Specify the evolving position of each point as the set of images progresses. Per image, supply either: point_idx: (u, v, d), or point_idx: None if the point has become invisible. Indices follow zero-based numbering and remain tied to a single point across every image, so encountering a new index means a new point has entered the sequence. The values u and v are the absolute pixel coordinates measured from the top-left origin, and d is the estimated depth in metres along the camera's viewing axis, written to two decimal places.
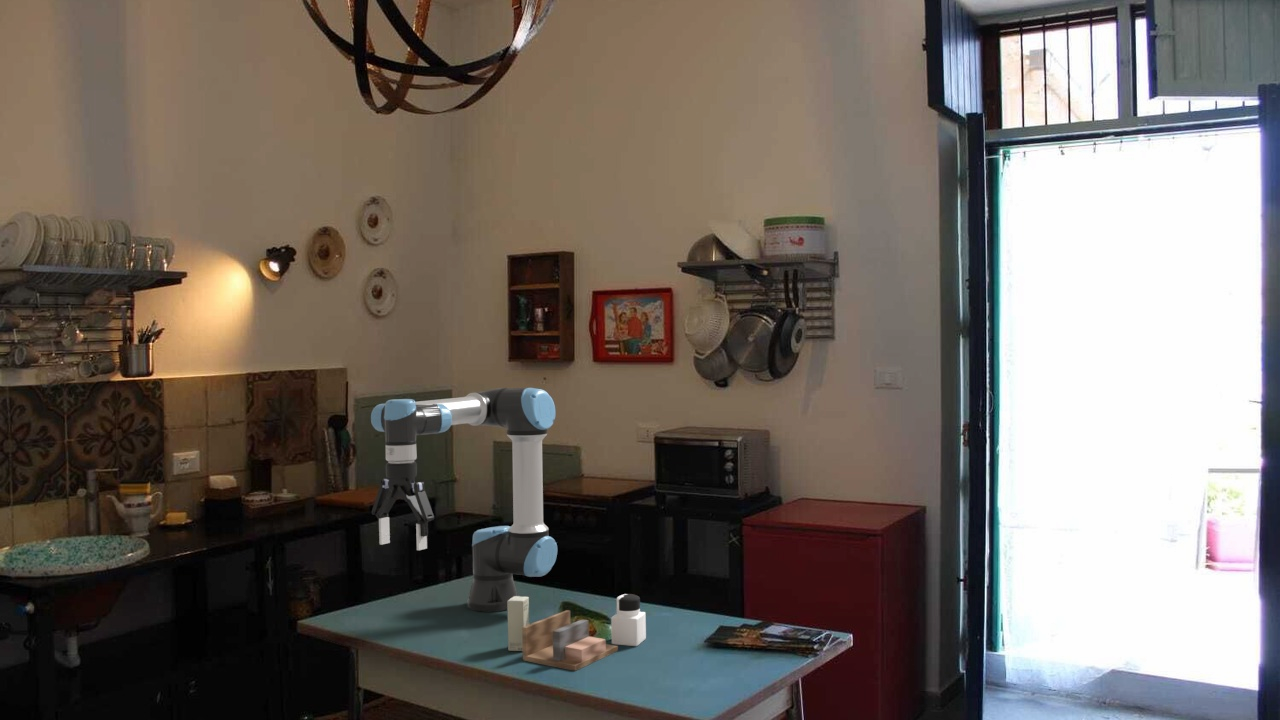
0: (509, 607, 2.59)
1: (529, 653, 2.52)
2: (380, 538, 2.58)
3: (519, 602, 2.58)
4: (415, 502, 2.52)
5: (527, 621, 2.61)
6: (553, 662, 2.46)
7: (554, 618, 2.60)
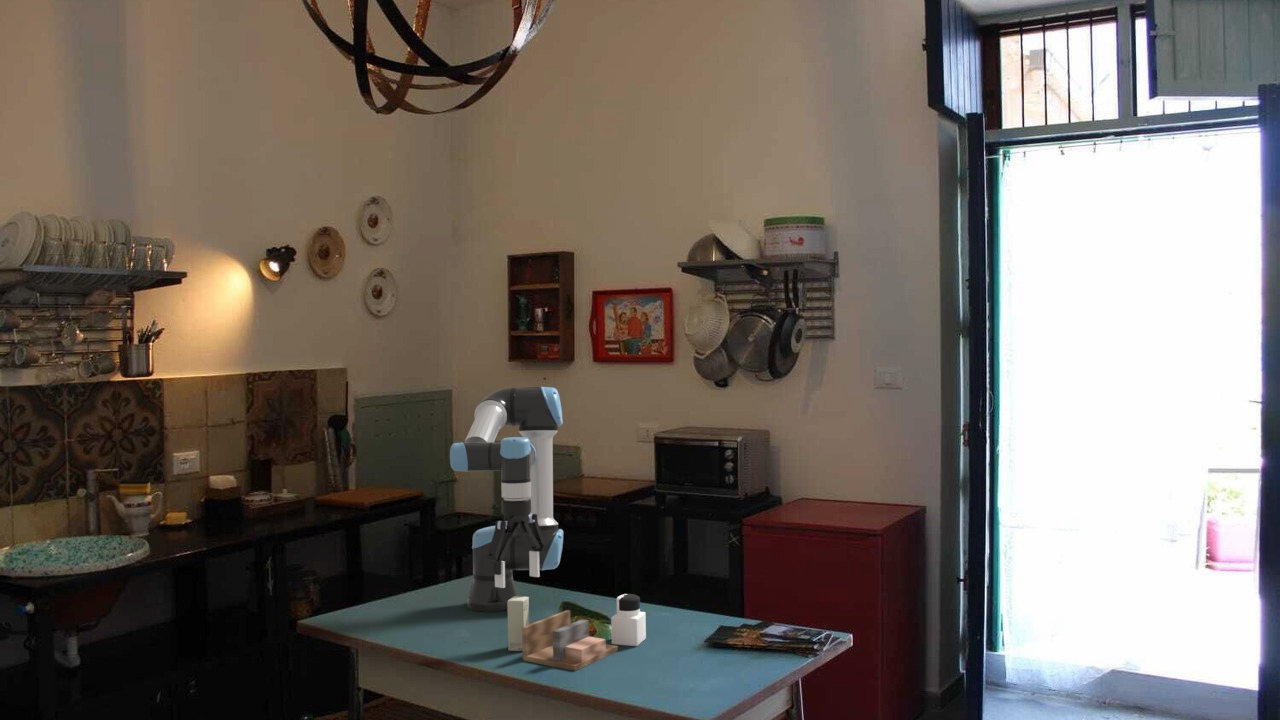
0: (509, 607, 2.59)
1: (529, 653, 2.52)
2: None
3: (519, 602, 2.58)
4: (503, 540, 2.56)
5: (527, 621, 2.61)
6: (553, 662, 2.46)
7: (554, 618, 2.60)
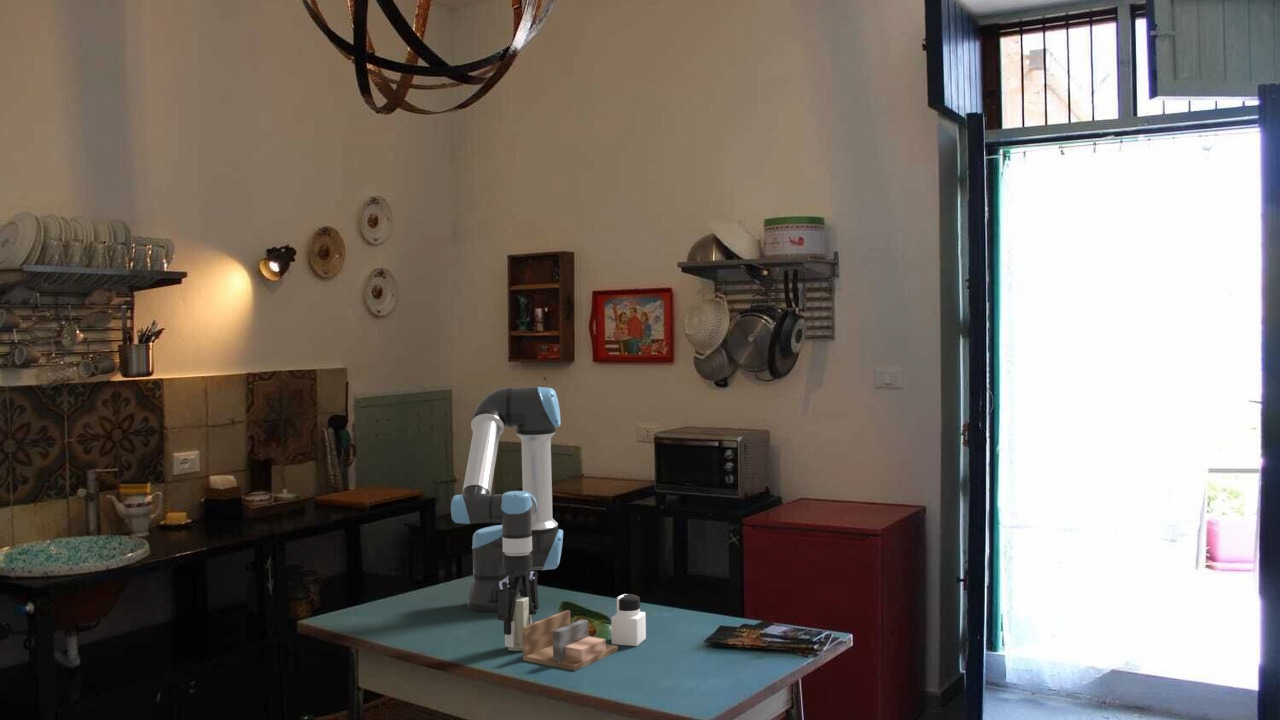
0: None
1: (529, 653, 2.52)
2: None
3: (519, 602, 2.58)
4: (509, 598, 2.58)
5: (527, 621, 2.61)
6: (553, 662, 2.46)
7: (554, 618, 2.60)
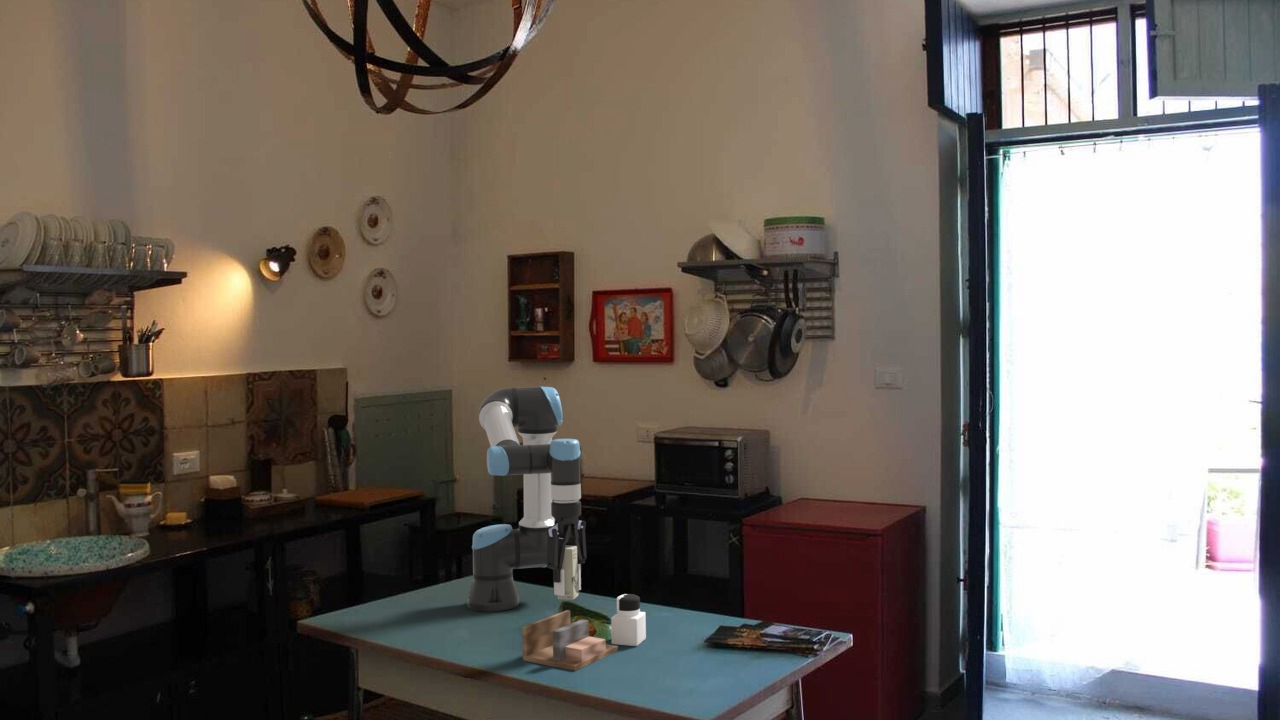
0: None
1: (529, 653, 2.52)
2: None
3: (568, 550, 2.56)
4: (558, 546, 2.55)
5: (576, 570, 2.59)
6: (553, 662, 2.46)
7: (554, 618, 2.60)
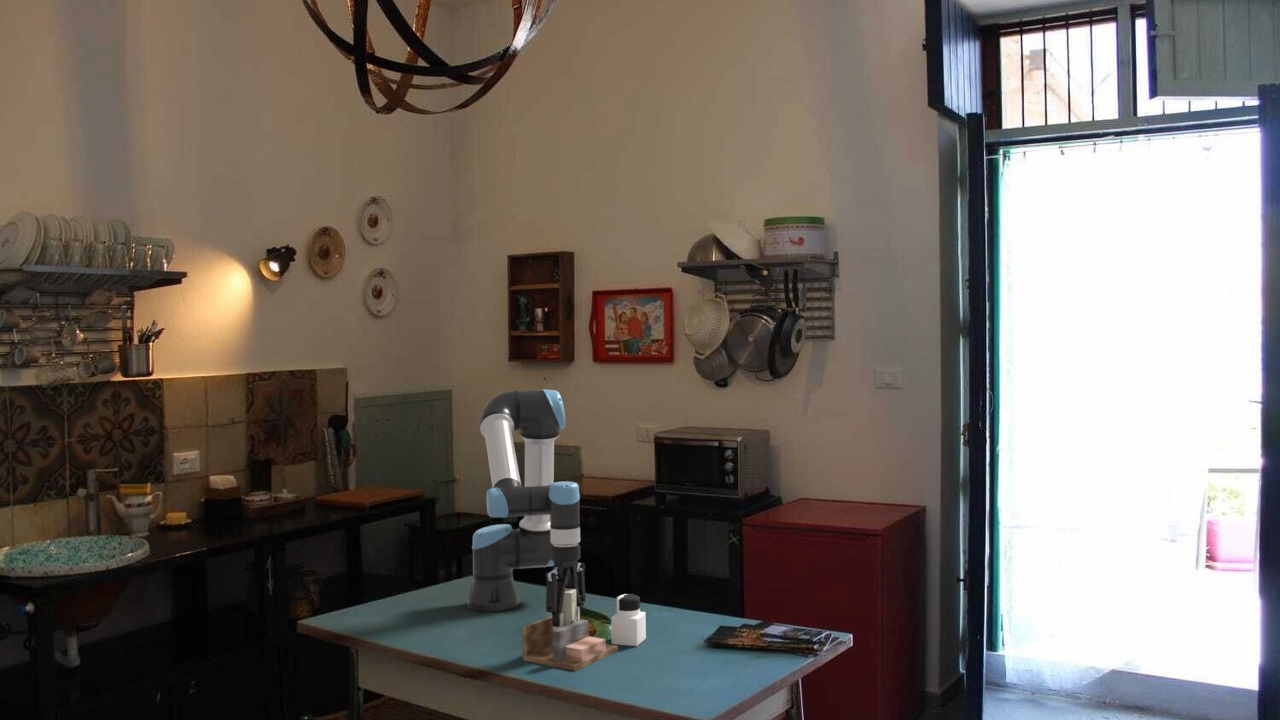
0: None
1: (529, 653, 2.52)
2: None
3: (567, 594, 2.55)
4: (557, 590, 2.55)
5: (575, 613, 2.58)
6: (553, 662, 2.46)
7: None
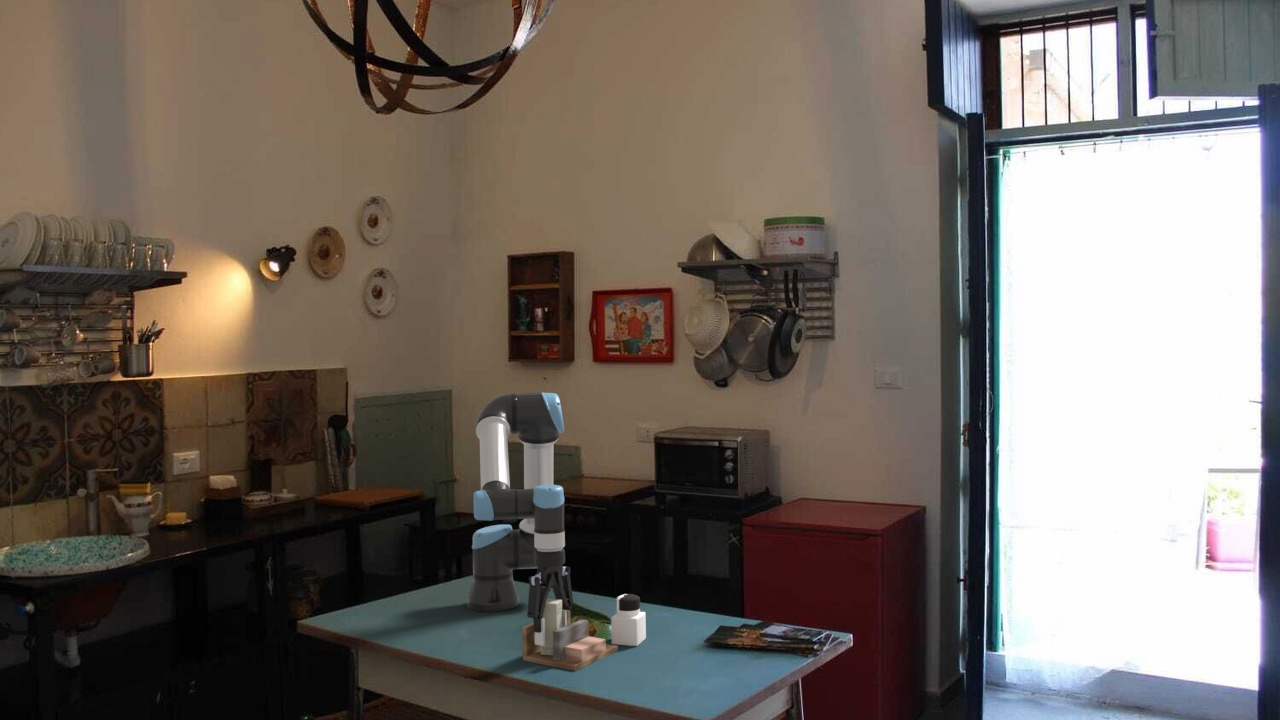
0: None
1: (529, 653, 2.52)
2: None
3: (552, 605, 2.50)
4: (540, 595, 2.50)
5: (560, 624, 2.53)
6: (553, 662, 2.46)
7: None
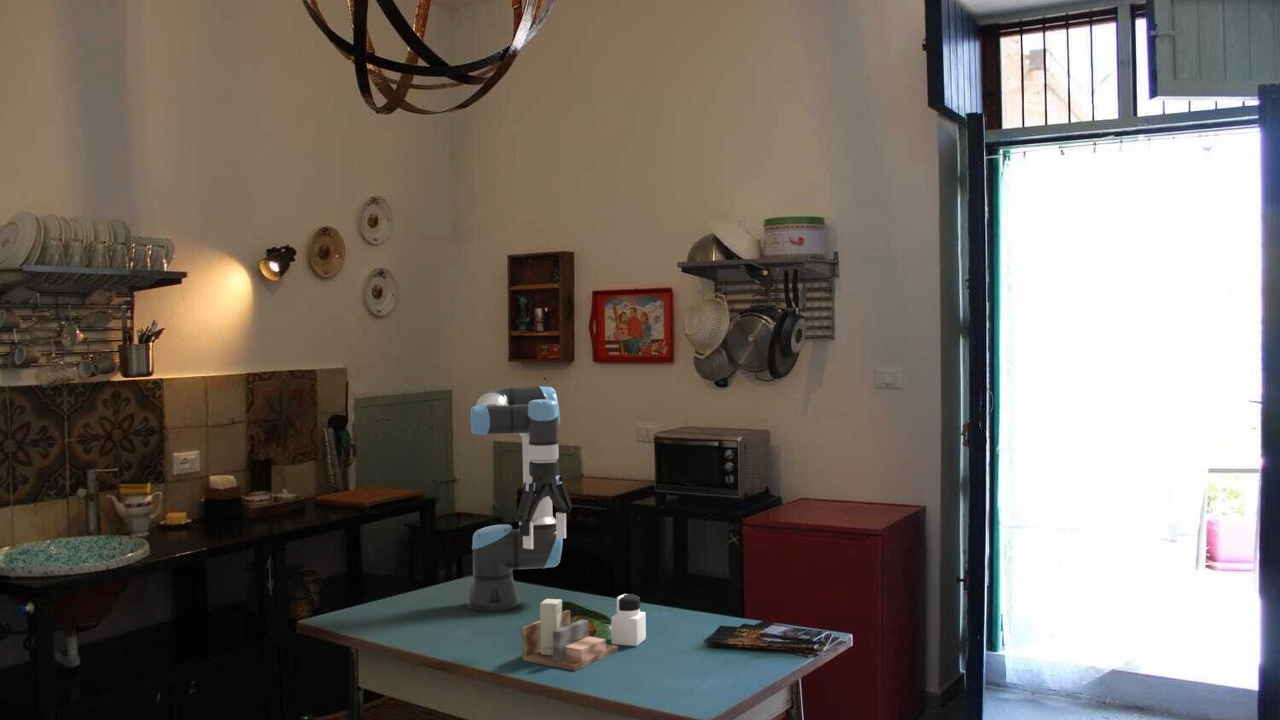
0: (542, 610, 2.51)
1: (529, 653, 2.52)
2: None
3: (552, 605, 2.50)
4: (531, 501, 2.57)
5: (560, 624, 2.53)
6: (553, 662, 2.46)
7: None
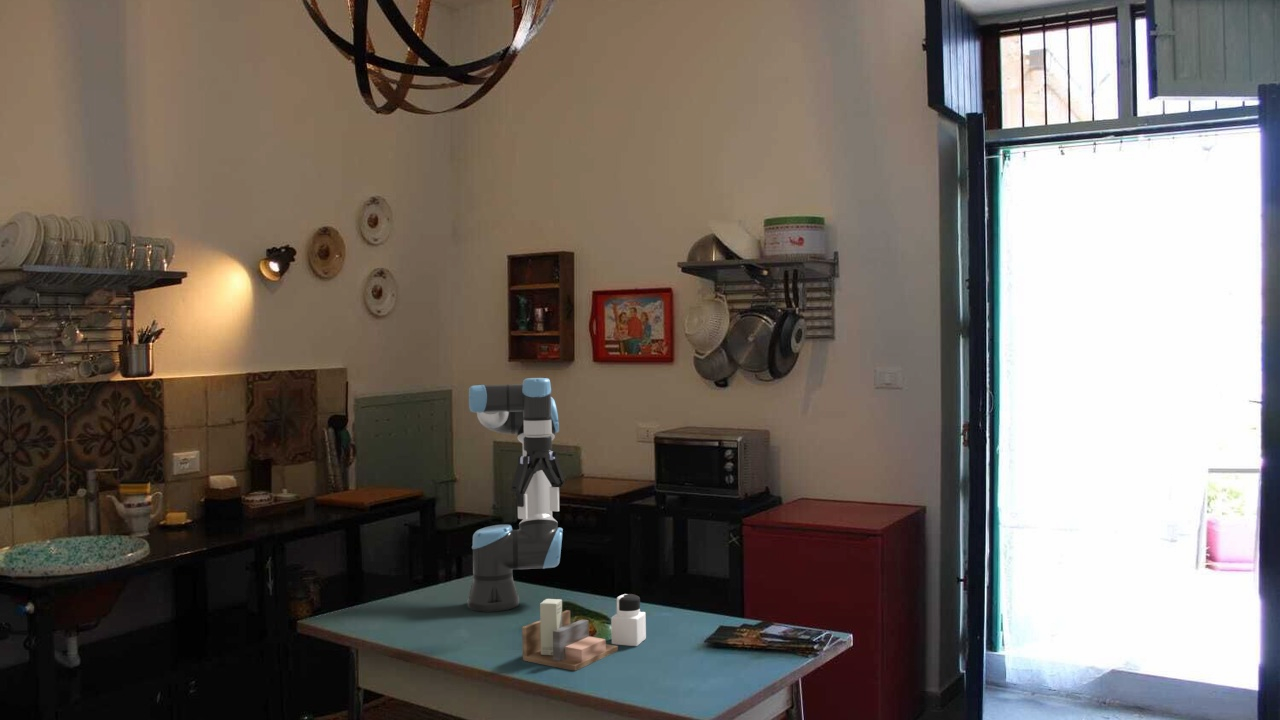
0: (542, 610, 2.51)
1: (529, 653, 2.52)
2: None
3: (552, 605, 2.50)
4: (526, 474, 2.70)
5: (560, 624, 2.53)
6: (553, 662, 2.46)
7: None
